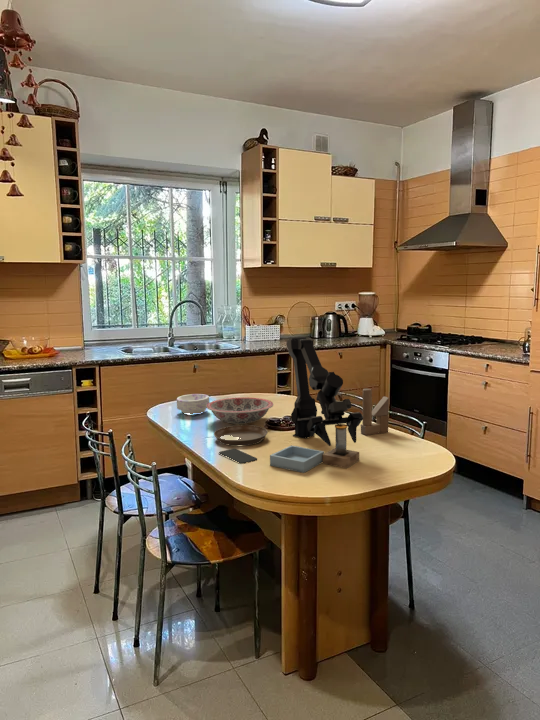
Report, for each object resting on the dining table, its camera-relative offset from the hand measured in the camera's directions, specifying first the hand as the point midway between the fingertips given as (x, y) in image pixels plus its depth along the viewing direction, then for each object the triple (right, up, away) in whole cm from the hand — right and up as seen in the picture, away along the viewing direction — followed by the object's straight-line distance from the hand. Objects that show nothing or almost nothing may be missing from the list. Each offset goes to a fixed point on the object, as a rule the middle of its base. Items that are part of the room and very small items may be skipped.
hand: (342, 443), depth 175 cm
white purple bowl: (-60, +2, +75) cm, 96 cm away
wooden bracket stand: (+18, -2, +36) cm, 40 cm away
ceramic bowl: (-37, 0, +57) cm, 68 cm away
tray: (-15, -7, +2) cm, 17 cm away
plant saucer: (-35, -4, +31) cm, 47 cm away
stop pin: (0, -6, +2) cm, 7 cm away
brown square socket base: (0, -6, +2) cm, 7 cm away
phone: (-35, -7, +10) cm, 37 cm away
